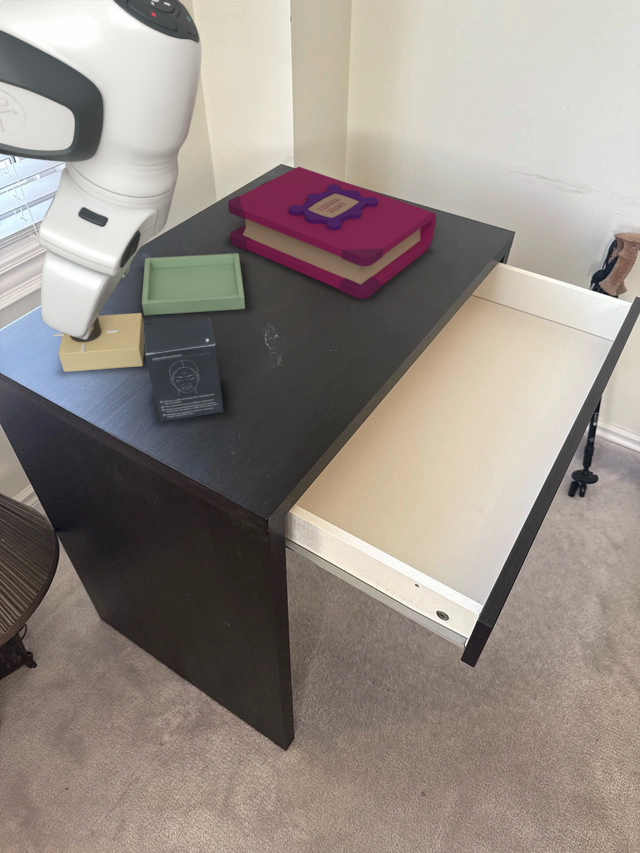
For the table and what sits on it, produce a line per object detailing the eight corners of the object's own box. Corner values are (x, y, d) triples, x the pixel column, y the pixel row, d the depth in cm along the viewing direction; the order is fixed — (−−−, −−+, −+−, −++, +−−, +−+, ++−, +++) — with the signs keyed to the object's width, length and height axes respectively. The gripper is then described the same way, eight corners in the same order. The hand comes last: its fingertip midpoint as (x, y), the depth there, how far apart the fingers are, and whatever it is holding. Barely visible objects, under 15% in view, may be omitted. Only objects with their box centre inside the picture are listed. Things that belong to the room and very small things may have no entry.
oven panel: (55, 373, 82) (48, 354, 79) (63, 335, 87) (57, 316, 85) (142, 366, 83) (138, 347, 81) (145, 330, 89) (141, 311, 87)
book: (303, 200, 119) (303, 159, 114) (432, 248, 108) (439, 205, 102) (227, 242, 107) (223, 199, 102) (363, 301, 96) (367, 256, 90)
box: (218, 384, 81) (210, 315, 74) (224, 413, 77) (216, 344, 70) (155, 392, 80) (141, 323, 72) (159, 423, 76) (144, 353, 68)
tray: (144, 315, 91) (141, 303, 90) (147, 269, 100) (144, 258, 99) (245, 309, 93) (244, 296, 92) (239, 264, 102) (238, 253, 101)
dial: (68, 343, 81) (60, 319, 79) (71, 325, 84) (64, 301, 81) (100, 341, 82) (93, 316, 79) (102, 323, 85) (96, 299, 82)
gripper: (127, 119, 60) (109, 232, 70) (27, 241, 47) (23, 357, 58) (190, 149, 61) (163, 255, 72) (109, 276, 48) (90, 383, 59)
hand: (100, 302), depth 64 cm, fingers open, 8 cm apart
